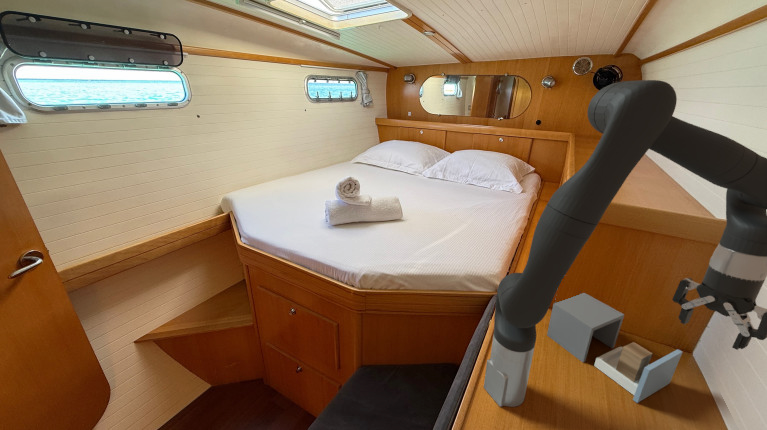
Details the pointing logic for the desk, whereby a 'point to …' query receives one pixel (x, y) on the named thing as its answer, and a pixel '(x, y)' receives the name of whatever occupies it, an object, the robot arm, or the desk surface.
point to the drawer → (651, 377)
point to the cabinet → (583, 324)
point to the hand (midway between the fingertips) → (708, 334)
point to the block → (633, 361)
